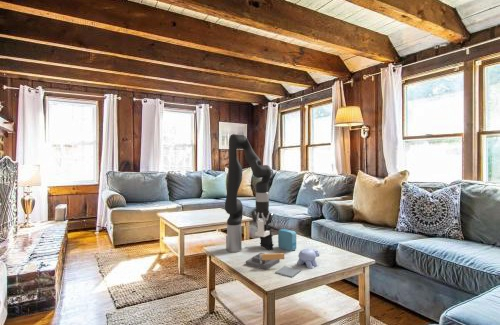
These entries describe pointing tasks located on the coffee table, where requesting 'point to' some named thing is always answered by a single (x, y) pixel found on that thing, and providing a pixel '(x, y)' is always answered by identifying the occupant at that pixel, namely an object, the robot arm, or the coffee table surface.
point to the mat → (288, 271)
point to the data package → (287, 239)
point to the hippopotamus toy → (308, 258)
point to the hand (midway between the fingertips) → (262, 230)
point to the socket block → (261, 262)
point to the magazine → (267, 241)
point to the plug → (261, 229)
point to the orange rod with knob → (271, 256)
